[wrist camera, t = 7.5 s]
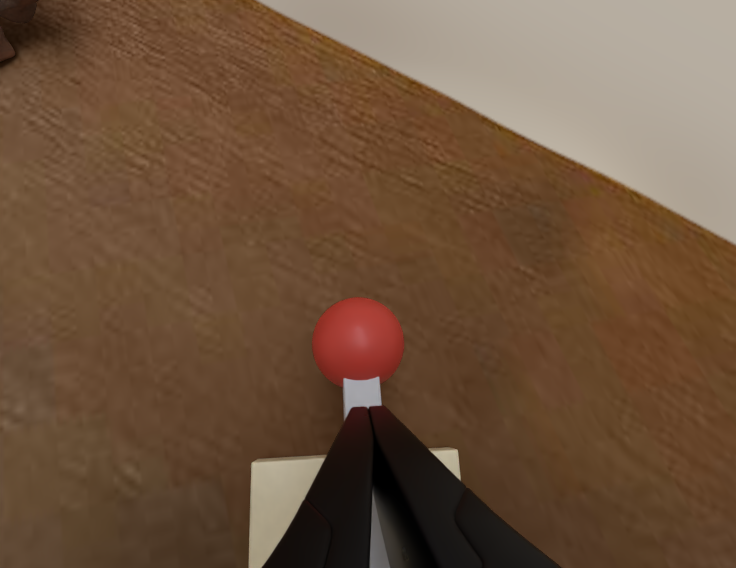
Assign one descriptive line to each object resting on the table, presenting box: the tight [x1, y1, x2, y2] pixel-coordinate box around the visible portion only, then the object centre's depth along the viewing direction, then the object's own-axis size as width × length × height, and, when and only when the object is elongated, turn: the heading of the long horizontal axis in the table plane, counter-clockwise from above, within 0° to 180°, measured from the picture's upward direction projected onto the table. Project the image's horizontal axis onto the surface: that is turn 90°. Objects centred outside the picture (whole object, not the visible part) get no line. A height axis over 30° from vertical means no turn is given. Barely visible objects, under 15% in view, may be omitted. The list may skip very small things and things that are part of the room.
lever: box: [312, 297, 404, 568], centre depth 12 cm, size 12×3×3 cm, turn 3°
